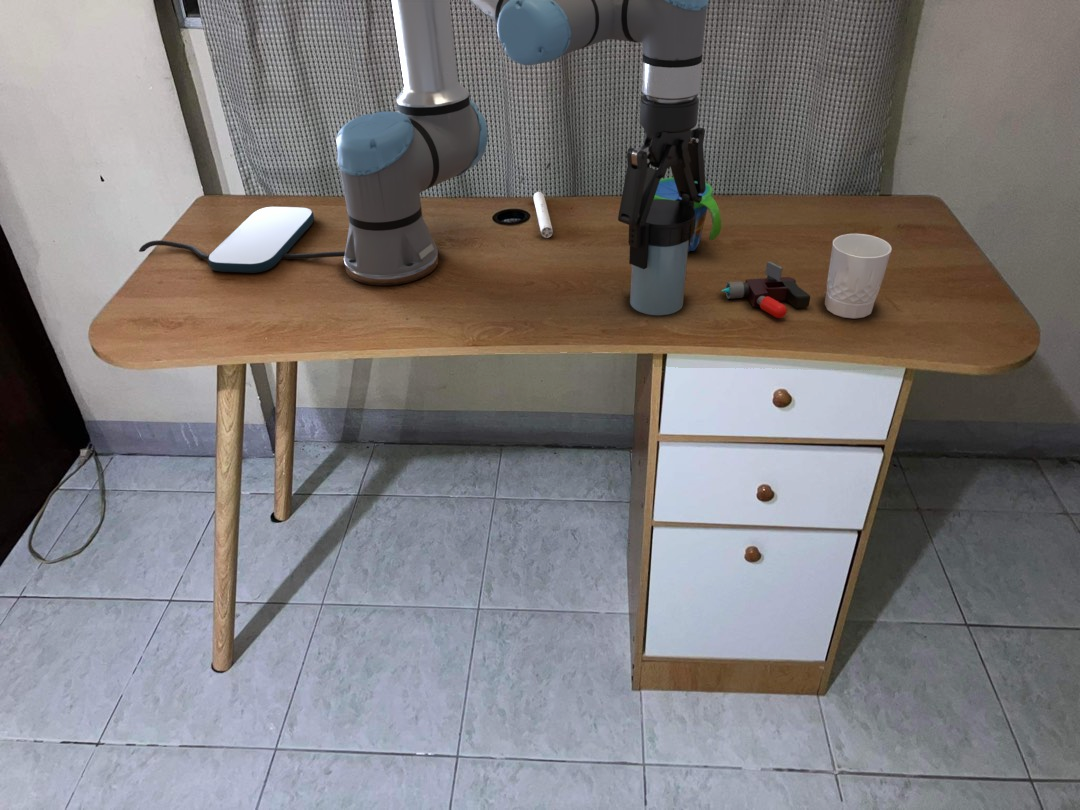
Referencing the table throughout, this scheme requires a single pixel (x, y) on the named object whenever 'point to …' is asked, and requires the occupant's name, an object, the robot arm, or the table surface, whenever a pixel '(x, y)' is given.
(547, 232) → the marker
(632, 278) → the jar
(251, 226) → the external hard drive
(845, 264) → the white cup
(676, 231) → the lid
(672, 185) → the snack cup
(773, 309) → the toy gun
